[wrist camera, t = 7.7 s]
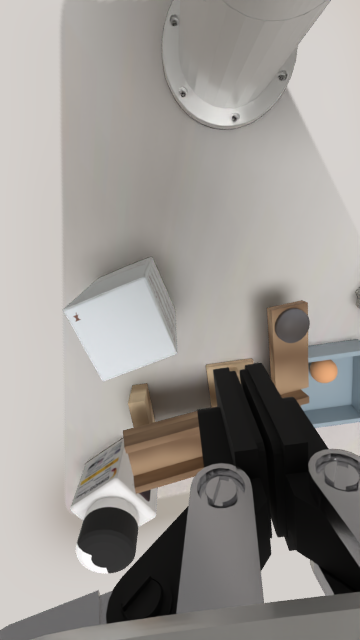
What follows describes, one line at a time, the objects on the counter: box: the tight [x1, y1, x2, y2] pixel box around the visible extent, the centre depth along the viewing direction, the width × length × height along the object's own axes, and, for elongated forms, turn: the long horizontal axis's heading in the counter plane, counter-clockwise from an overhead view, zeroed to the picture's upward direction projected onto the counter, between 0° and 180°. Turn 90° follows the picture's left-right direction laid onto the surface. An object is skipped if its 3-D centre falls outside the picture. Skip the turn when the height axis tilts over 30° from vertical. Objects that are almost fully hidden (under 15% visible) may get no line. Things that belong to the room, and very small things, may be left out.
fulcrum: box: [206, 358, 253, 407], centre depth 39 cm, size 9×6×6 cm, turn 8°
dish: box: [301, 339, 360, 428], centre depth 40 cm, size 10×10×4 cm
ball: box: [310, 359, 338, 383], centre depth 39 cm, size 3×3×3 cm
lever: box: [123, 300, 310, 494], centre depth 33 cm, size 17×21×3 cm
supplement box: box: [63, 257, 177, 381], centre depth 31 cm, size 7×7×13 cm
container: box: [71, 438, 158, 573], centre depth 39 cm, size 8×8×13 cm
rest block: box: [128, 383, 155, 428], centre depth 40 cm, size 6×2×4 cm, turn 8°
